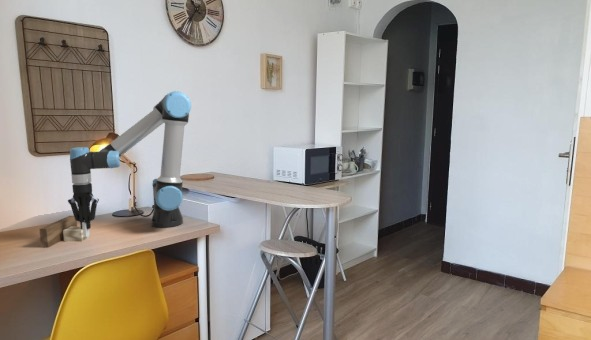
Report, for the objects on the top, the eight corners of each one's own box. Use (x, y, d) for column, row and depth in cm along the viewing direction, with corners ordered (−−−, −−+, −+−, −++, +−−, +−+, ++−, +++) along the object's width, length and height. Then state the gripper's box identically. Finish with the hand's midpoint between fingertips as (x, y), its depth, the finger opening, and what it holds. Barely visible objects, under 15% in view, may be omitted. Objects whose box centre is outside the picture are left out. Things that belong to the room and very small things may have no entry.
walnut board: (77, 232, 201) (76, 215, 200) (48, 247, 180) (46, 228, 179) (71, 232, 202) (69, 215, 201) (41, 247, 180) (39, 228, 179)
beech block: (89, 237, 193) (88, 226, 193) (82, 241, 187) (81, 230, 187) (72, 237, 194) (71, 226, 193) (64, 241, 188) (63, 230, 187)
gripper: (101, 181, 190) (105, 233, 193) (72, 181, 190) (76, 233, 194) (92, 184, 182) (96, 238, 186) (62, 184, 183) (67, 238, 186)
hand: (86, 236), depth 190 cm, fingers closed
